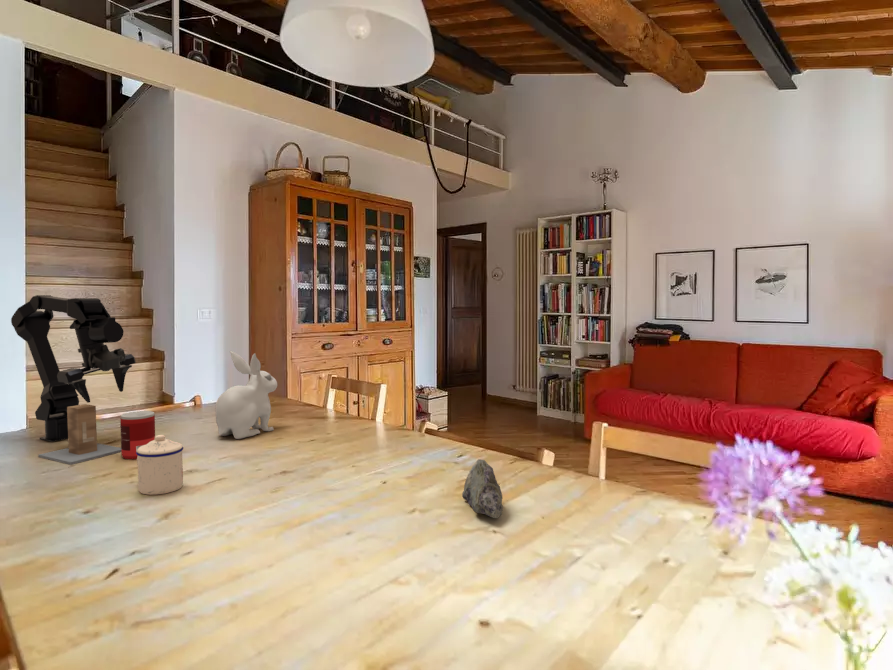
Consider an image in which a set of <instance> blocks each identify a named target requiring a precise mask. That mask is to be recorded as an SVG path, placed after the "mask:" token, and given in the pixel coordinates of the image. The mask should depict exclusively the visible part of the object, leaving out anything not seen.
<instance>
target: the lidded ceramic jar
mask: <svg viewBox="0 0 893 670" xmlns="http://www.w3.org/2000/svg"><path fill="white" fill-rule="evenodd" d="M183 450H184V447H183V444H182V443H181V442H177V441H172V440H171V439H167V438H166V436H165V435H164V434H158V435H157V434H156V435H155V440H153V441H151V442H149V443H148V444H146V445H143V446H141V447H139V448H138V449H137V452H136V454H137V455H138V456H137V459H136V464H137V474H138V475H137V480H138V482H137V484H138V485H137V486H138V492H139V493H140V494H144V495H147V496H148V495H149V496H150V495H151V496H155V495H157V496H158V495H163V494H169V493H172V492H175V491H177V490H180V489H181V488H182V487H183V485H184V474H183V472H184V469H183V468H184V467H183Z"/></svg>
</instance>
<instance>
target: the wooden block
mask: <svg viewBox="0 0 893 670" xmlns="http://www.w3.org/2000/svg"><path fill="white" fill-rule="evenodd" d="M96 406H97V405H94V404H88V403H84V404H79V405H76V406H70V407H67V419H68V439H67V440H68V441H67V442H68V448H69V453H73V454H77V455H81V454H85V453H89V452H94V451H97V443H98V439H97V438H98V434H97V433H98V432H97V431H98V430H97V410H96Z"/></svg>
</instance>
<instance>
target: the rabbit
mask: <svg viewBox="0 0 893 670" xmlns="http://www.w3.org/2000/svg"><path fill="white" fill-rule="evenodd" d="M229 353H230V356H231V361H232V363H233V366H234V367H235V369H236V370H237V372H239V373H241V374H243V375H249V376H250V377H249V380H248V381H247V383H246V385H235V386H234V385H233V386H231V387H229V388H228V389H226V390H225V391H224V392H222V393H221V394H220V395H219V396H218V398H217V400H216V403H215V423H216V426H217V431H218V436H222V437H223V436H224V437H225V436H230V435H233V438H234V439H236V440H241V439H245V438H249V437H253V436H256V435H257V434H258V435H259V434H261V431H260V430H259V429H261V430H262V431H263V432H272V431H273V432H274V430H275V429H274V426H269V420H270V417H271V412H272V405H271V401H270V397H269V393H270V394H271V393H273V392H274V391H276V389H277V387H278V381H277V379H276V378H275V377H274V376H272V375H271V373H270V372H267V371H265V370H261V367H262V366H261V365H262V364H261V362H260V359H258V357H257V353H256V352H255V353H253V354H252V356H251V359H250V362H249V363H250V364H249V363H248V362H247V361H246V360H245V358H243V357H242V356H241V355H239V354H238V353H237V352H235V351H232V350H230V351H229ZM259 419H260V420H259ZM259 421H260V424H259Z"/></svg>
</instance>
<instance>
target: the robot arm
mask: <svg viewBox="0 0 893 670" xmlns="http://www.w3.org/2000/svg"><path fill="white" fill-rule="evenodd" d="M42 310H44V311H42ZM53 312H58V313H64V314H66V315H67V316H68V317H69V318H72V319H74V320H73V321H72V323H71V324H70V325H69V329H70V330H74V331H75V334H76V339H77V342H78V343H77V344H78V346H79V348H77V351H78V353H81V357H82V361H83V362H82V363H81V365H82V366H81V367H82V368H80V367H79V368H78V367H76V368H75V367H70V368H67V369H63V370H60V368H59V365H58V362H57V360H56V356H55V354H54V352H53V349H52V346H51V344H50V341H49V338H48V334H49V332H50V330H51V325H50V323H51V322H52V320H53V319H54V316H55V315H54V313H53ZM10 322H11V326H12V327H13V329H14V332H15V333H16V335H17V336H18V337H20V338H21V339H22V340H24V341H25V342H26V343H27V345H28V348H29V350H30V354H31V356H32V359H33V361H34V364H35V367H36V371H37V373H38V376H39V378H40V380H41V384H42V388H43V389H42V392H41V394H40V401H41V403H40V404H39V405H38V407H37V408H36V410H35V412H34V414H35V418H36V421H37V420H38V421H44V436H41V437H39V440H42V441H44V442H45V441H46V442H51V443H55V442H57V441H62V440H63V441H64V440H68V419H67V407H70V406H76V405H80V404H79V403H80V399H79V396H81V397H82V398H83V399H84V401H85V402H86V404H88V403H91V398H90V394H89V390H88V388H87V385H86V382H87V379H85V378H84V376H85V375H88V374H92V373H95V372H98V371H102V372H108V371H109V372H110V370H112V374H113V377H114V380H115V383H116V386H117V389H118V391H119V392H121V393H122V392H123V391H124V386H125V379H126V374H127V372H128V371H129V369H130V368H132V366H133V365H134V364H136V363H137V362H136V358H135V356H134V355H133V354H132V353H125V349H123V348H117V349H116V348H115V349H114V350H112V351H111V350H110V349H109V347H108V345H107V343H108V344H109V343H118V342H119V341H121V340H122V338H123V337H124V328H123V327H122V325H121V324H120V323H119V322H117V321H116V317H114V316H112V317H111V314H110V313H109V312H108V310H107V308H106V307H105V305H104V304H103V303H102V300H101V299H99V297H98V298H97V297H86V298H85V297H75V298H67V297H66V298H65V297H58V296H53V295H50V294H46V295H45V294H44V295H41V294H36V295H34V296H32V297H31V298H30V299H29V301H27V302H25V303H24V304H23V305H21V306H19V307H17V309H16V311H15V312H14V313H13V315H12V316H11V319H10ZM77 392H78V393H79V394H78V393H77Z"/></svg>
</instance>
